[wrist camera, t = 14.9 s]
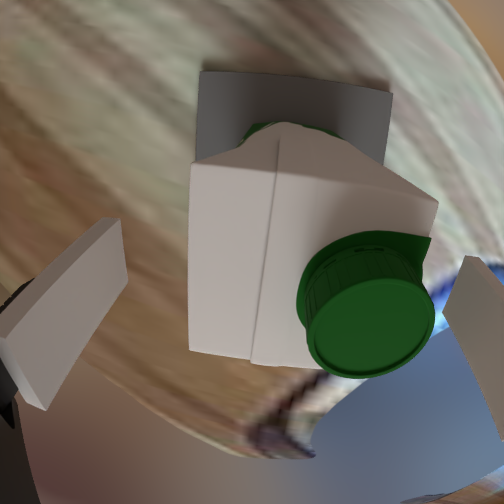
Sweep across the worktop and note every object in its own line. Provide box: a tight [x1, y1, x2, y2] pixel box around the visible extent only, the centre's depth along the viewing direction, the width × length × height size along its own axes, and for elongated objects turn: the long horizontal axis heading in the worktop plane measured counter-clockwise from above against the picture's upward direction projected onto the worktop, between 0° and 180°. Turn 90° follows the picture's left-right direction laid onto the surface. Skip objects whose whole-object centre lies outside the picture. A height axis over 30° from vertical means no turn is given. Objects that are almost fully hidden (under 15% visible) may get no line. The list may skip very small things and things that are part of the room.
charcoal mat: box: [196, 71, 393, 165], centre depth 27 cm, size 16×16×1 cm
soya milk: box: [188, 121, 439, 379], centre depth 18 cm, size 9×9×20 cm
